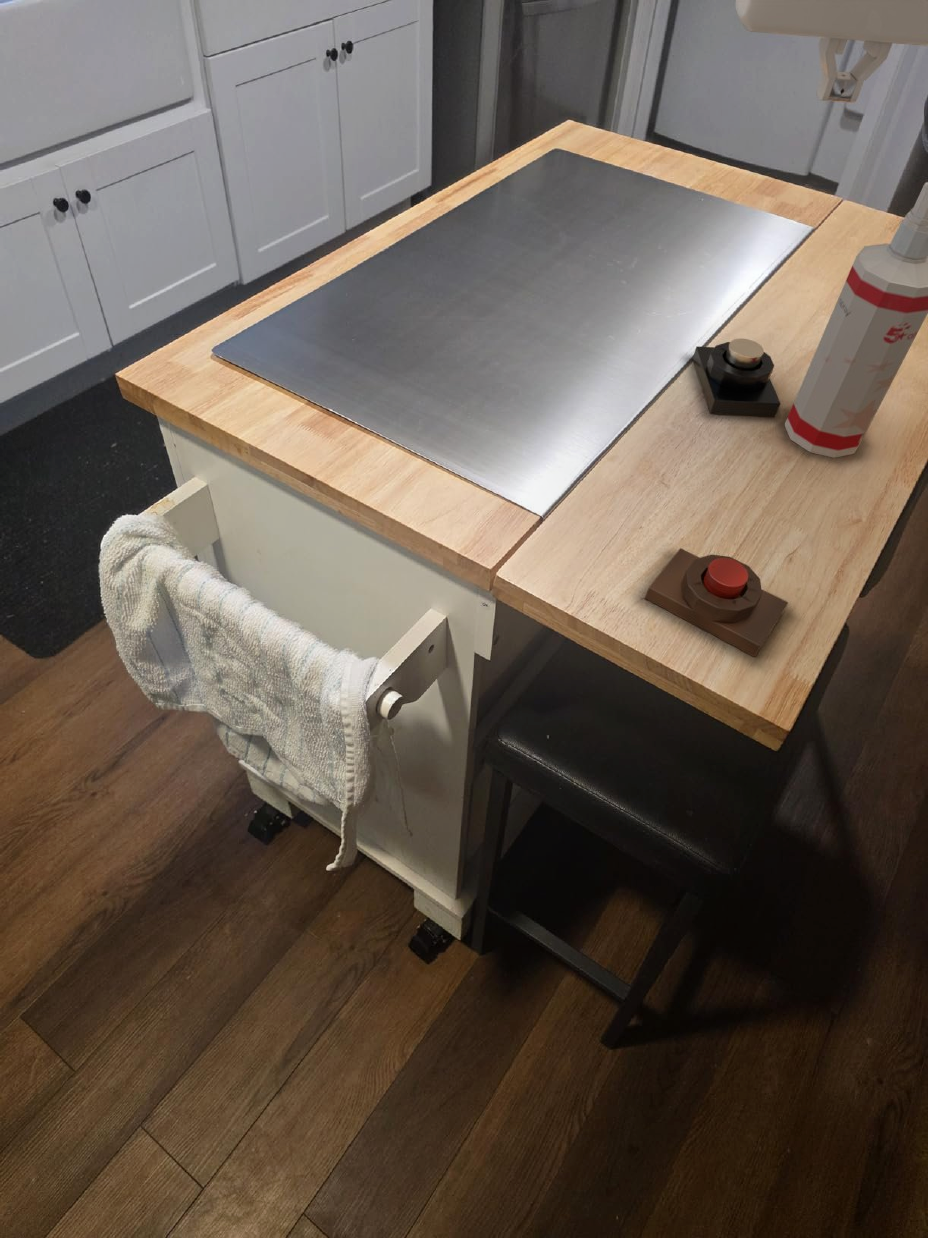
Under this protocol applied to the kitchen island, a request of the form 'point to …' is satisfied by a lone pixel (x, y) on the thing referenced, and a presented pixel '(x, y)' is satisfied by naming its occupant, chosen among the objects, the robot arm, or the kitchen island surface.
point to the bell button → (725, 578)
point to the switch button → (744, 354)
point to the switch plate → (735, 384)
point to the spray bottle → (864, 340)
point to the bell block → (716, 602)
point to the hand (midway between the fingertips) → (835, 99)
